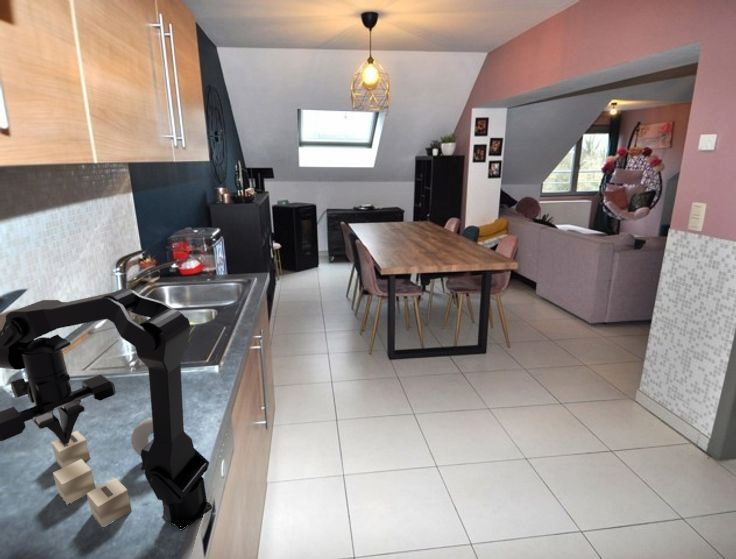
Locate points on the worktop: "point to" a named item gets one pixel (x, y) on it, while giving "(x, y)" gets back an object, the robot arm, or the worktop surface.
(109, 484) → the one stroke block
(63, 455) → the two stroke block
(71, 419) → the robot arm
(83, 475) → the plain block
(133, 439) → the donut
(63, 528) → the worktop surface
